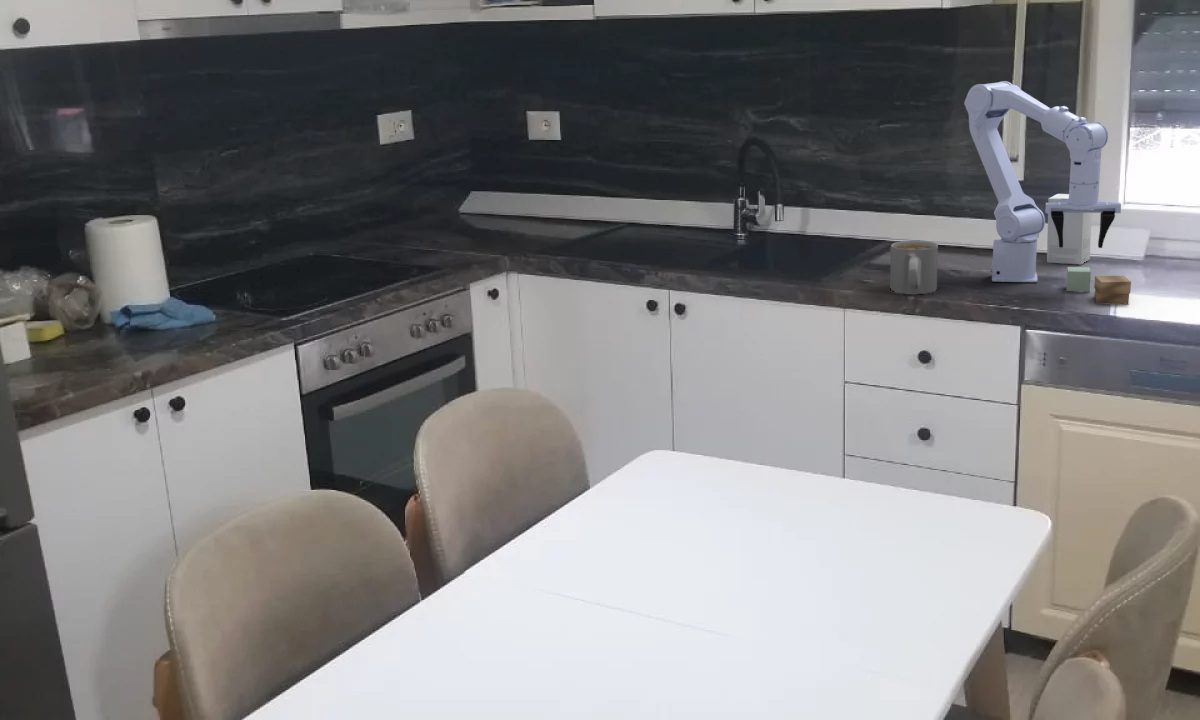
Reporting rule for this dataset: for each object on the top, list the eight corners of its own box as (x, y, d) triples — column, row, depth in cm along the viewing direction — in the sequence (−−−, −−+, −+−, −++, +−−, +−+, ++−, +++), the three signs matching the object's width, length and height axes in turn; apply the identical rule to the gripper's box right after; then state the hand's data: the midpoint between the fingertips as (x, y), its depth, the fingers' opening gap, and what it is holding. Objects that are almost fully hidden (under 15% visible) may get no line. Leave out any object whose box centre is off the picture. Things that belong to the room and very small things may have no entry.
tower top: (1100, 294, 238) (1101, 282, 237) (1094, 287, 243) (1095, 276, 243) (1130, 293, 237) (1131, 281, 236) (1123, 287, 242) (1123, 275, 242)
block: (1067, 292, 250) (1068, 271, 248) (1066, 287, 254) (1067, 266, 252) (1089, 292, 248) (1090, 271, 247) (1088, 287, 252) (1089, 267, 251)
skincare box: (1090, 260, 276) (1094, 194, 272) (1080, 266, 271) (1084, 198, 267) (1054, 257, 282) (1058, 192, 277) (1044, 262, 277) (1047, 196, 272)
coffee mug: (896, 283, 265) (896, 239, 262) (940, 285, 261) (942, 241, 258) (881, 297, 254) (882, 251, 251) (928, 300, 249) (929, 253, 247)
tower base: (1096, 305, 239) (1096, 293, 239) (1094, 298, 245) (1095, 287, 244) (1128, 306, 237) (1129, 294, 237) (1125, 299, 243) (1126, 287, 242)
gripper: (1047, 185, 243) (1044, 250, 247) (1124, 185, 238) (1119, 250, 242) (1046, 180, 249) (1043, 243, 253) (1121, 179, 245) (1116, 244, 249)
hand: (1080, 246), depth 248 cm, fingers open, 7 cm apart
